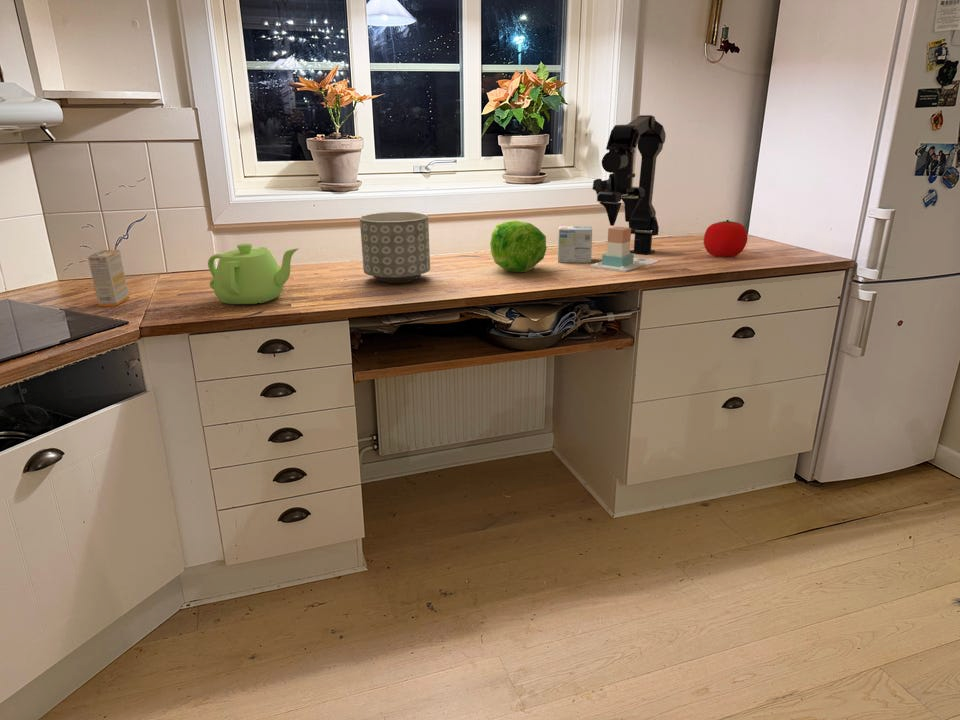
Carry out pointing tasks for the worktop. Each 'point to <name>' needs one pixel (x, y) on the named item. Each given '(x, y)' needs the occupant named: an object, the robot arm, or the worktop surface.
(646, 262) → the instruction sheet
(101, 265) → the supplement box
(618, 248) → the cream brick
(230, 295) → the teapot
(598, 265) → the build plate
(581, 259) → the light bulb box
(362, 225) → the planter
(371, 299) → the worktop surface
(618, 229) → the rust brick
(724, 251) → the tomato
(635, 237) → the robot arm
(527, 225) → the lettuce
